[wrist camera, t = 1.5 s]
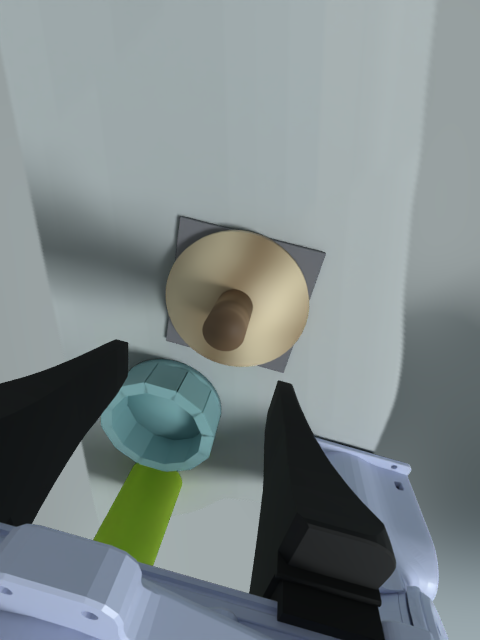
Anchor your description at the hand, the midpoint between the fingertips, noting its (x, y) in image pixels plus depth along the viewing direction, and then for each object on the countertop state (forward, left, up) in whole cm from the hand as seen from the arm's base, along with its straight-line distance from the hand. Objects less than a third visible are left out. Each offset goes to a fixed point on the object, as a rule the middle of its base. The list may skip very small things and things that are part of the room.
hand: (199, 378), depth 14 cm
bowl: (+4, +12, -10) cm, 16 cm away
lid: (0, 0, -9) cm, 9 cm away
